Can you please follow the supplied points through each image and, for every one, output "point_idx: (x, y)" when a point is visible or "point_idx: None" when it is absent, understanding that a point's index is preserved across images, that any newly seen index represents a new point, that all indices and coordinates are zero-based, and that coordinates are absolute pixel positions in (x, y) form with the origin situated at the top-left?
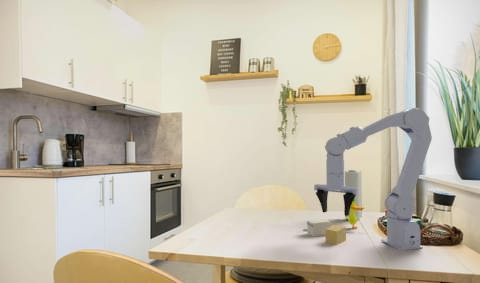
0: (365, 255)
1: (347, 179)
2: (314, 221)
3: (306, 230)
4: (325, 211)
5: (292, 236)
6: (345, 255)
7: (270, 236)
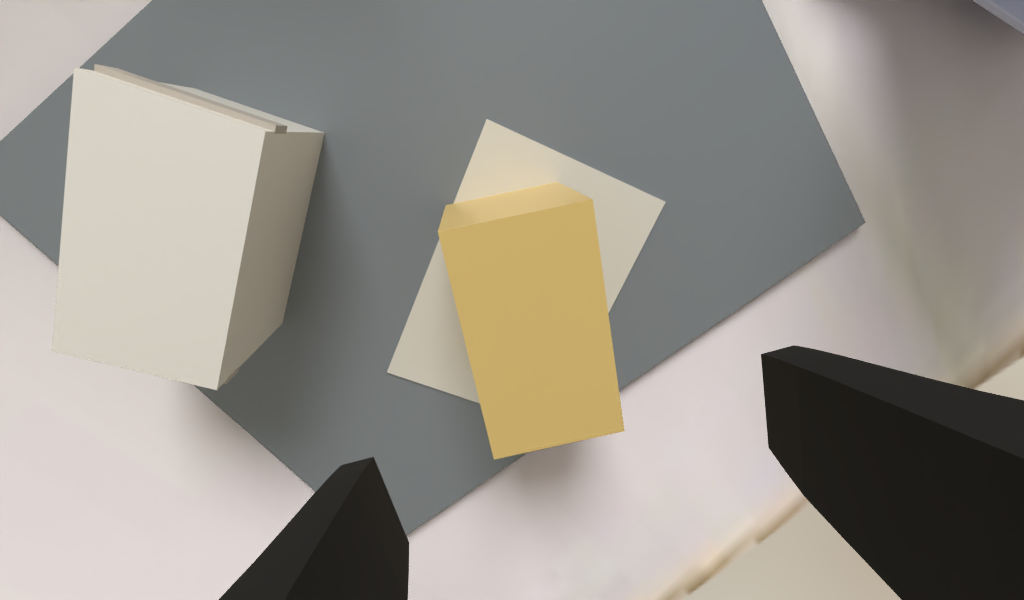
0: (798, 307)
1: None
2: (142, 307)
3: (38, 202)
4: (395, 520)
5: (138, 422)
6: (697, 413)
7: (50, 557)
